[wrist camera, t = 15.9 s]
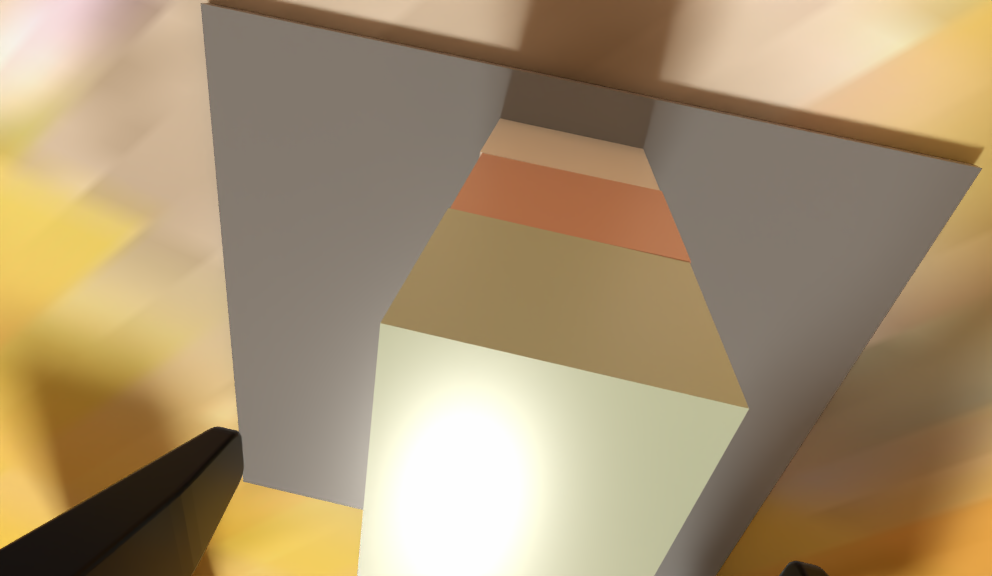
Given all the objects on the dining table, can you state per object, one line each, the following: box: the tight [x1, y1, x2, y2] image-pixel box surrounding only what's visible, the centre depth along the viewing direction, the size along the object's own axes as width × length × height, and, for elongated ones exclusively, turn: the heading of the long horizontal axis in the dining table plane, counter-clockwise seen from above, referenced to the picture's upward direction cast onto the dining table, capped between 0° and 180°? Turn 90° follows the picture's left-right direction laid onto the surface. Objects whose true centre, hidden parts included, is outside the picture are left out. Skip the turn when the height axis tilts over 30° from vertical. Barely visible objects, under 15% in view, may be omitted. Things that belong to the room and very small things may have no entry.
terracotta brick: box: [450, 153, 691, 263], centre depth 13 cm, size 7×5×4 cm, turn 170°
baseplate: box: [201, 3, 982, 576], centre depth 20 cm, size 24×22×4 cm
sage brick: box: [357, 208, 749, 576], centre depth 10 cm, size 7×5×4 cm, turn 169°
